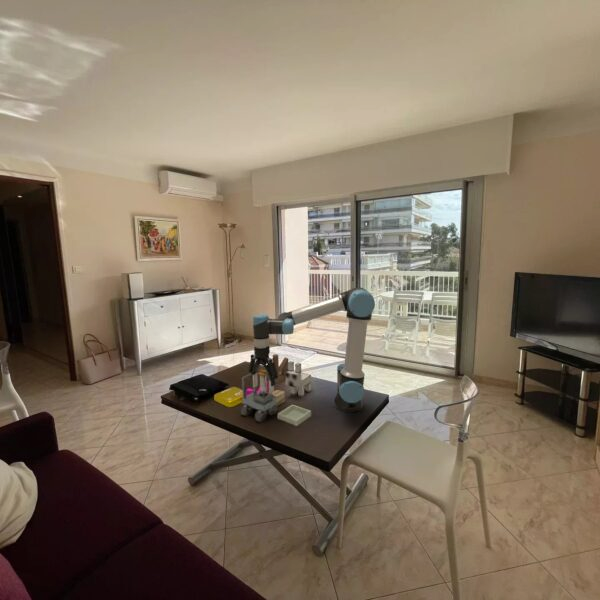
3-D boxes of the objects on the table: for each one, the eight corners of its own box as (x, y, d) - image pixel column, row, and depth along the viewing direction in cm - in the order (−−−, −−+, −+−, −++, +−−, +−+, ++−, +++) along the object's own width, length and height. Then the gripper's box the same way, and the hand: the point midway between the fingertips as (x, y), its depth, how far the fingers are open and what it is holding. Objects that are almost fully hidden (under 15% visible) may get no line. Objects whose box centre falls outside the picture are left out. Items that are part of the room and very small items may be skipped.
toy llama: (313, 389, 192) (312, 357, 189) (296, 400, 178) (296, 366, 175) (303, 386, 196) (302, 355, 193) (286, 397, 182) (285, 363, 179)
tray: (311, 416, 160) (311, 410, 160) (296, 426, 151) (296, 421, 150) (292, 409, 167) (292, 404, 167) (277, 419, 158) (277, 413, 158)
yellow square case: (234, 392, 190) (233, 385, 189) (251, 399, 181) (250, 391, 180) (213, 402, 179) (212, 394, 178) (229, 410, 169) (229, 401, 169)
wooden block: (288, 379, 208) (288, 352, 205) (275, 383, 201) (274, 356, 198) (285, 377, 211) (284, 351, 208) (272, 382, 204) (271, 355, 201)
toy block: (255, 405, 173) (254, 392, 172) (246, 402, 177) (245, 390, 176) (271, 395, 186) (271, 382, 185) (263, 392, 189) (262, 380, 188)
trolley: (279, 413, 164) (278, 376, 161) (260, 425, 153) (258, 385, 150) (258, 405, 173) (257, 370, 170) (239, 416, 162) (237, 378, 159)
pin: (270, 399, 160) (269, 370, 157) (264, 403, 156) (262, 373, 154) (263, 397, 162) (262, 368, 160) (257, 400, 159) (256, 371, 157)
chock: (284, 402, 176) (284, 391, 176) (276, 407, 171) (276, 396, 170) (278, 399, 179) (277, 389, 178) (269, 404, 174) (269, 394, 173)
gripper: (284, 348, 151) (286, 392, 154) (250, 340, 165) (252, 381, 168) (274, 352, 145) (275, 397, 149) (239, 344, 159) (241, 386, 162)
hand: (263, 389), depth 158 cm, fingers open, 10 cm apart
